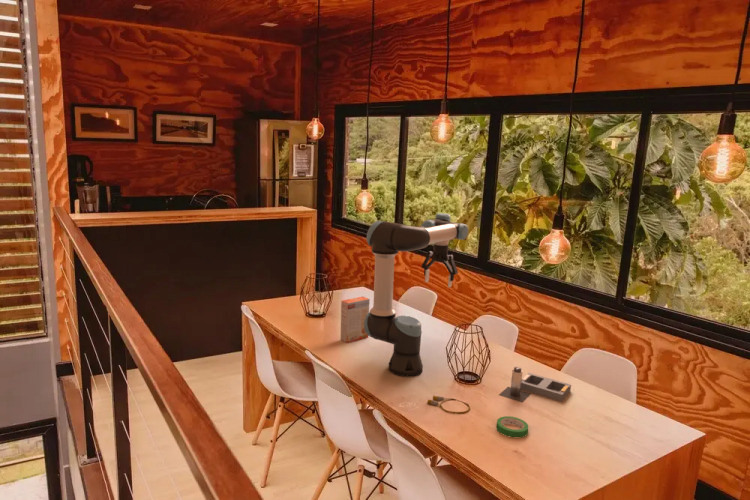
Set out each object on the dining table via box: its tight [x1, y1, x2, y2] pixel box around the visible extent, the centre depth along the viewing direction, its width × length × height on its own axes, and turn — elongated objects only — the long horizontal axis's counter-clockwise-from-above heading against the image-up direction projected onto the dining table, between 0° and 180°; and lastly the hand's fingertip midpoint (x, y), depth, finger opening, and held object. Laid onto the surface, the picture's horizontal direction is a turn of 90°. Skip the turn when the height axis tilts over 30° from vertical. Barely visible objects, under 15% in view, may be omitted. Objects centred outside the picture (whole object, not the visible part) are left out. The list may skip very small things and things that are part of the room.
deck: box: [498, 386, 532, 403], centre depth 225 cm, size 10×10×1 cm
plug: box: [510, 366, 523, 397], centre depth 224 cm, size 4×4×11 cm
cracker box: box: [340, 296, 370, 344], centre depth 278 cm, size 14×6×21 cm, turn 130°
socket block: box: [521, 372, 572, 403], centre depth 230 cm, size 12×18×4 cm, turn 55°
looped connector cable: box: [426, 395, 471, 415], centre depth 215 cm, size 12×16×2 cm
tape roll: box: [495, 415, 529, 438], centre depth 199 cm, size 11×11×3 cm
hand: (438, 284), depth 286 cm, fingers open, 13 cm apart
